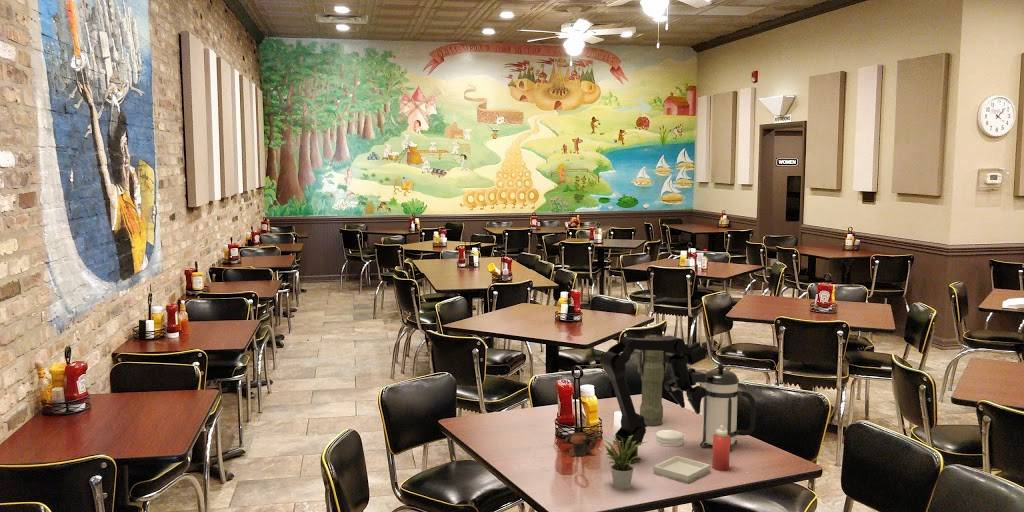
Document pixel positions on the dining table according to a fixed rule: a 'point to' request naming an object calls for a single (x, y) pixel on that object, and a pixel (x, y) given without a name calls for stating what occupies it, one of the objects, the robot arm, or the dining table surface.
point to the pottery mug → (579, 443)
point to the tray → (681, 469)
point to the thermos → (652, 384)
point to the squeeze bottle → (721, 450)
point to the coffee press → (723, 406)
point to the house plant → (622, 463)
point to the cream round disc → (669, 438)
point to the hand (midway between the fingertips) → (690, 410)
